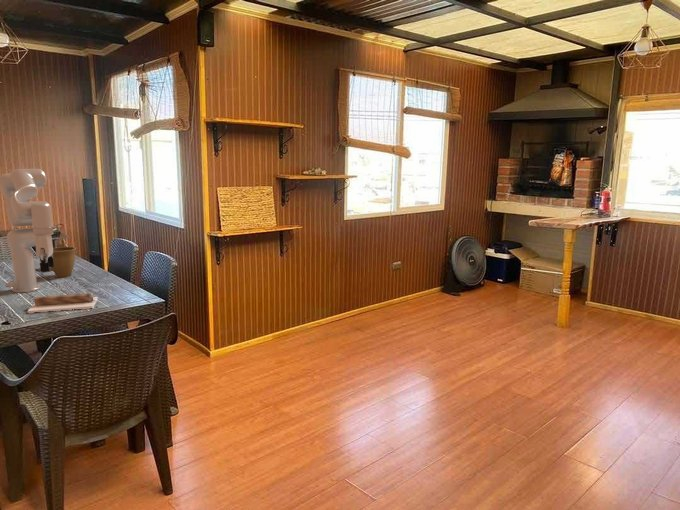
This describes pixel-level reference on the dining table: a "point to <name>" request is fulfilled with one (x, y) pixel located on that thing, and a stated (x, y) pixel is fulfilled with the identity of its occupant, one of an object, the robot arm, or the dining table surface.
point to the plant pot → (63, 261)
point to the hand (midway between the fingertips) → (47, 269)
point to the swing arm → (63, 299)
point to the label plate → (63, 306)
